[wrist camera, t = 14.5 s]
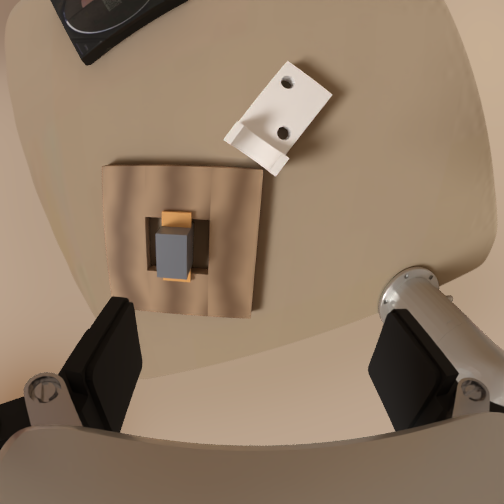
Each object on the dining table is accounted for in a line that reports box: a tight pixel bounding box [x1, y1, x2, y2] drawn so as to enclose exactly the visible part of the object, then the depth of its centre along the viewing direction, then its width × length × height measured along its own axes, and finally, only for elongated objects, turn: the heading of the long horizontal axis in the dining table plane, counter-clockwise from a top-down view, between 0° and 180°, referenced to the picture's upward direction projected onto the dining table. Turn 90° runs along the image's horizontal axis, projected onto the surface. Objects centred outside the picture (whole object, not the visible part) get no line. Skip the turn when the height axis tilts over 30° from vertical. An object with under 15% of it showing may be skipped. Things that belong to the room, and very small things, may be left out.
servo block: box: [156, 211, 194, 282], centre depth 40 cm, size 4×10×6 cm, turn 175°
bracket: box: [223, 61, 332, 177], centre depth 34 cm, size 13×7×8 cm, turn 144°
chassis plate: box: [102, 164, 263, 318], centre depth 42 cm, size 22×22×2 cm
